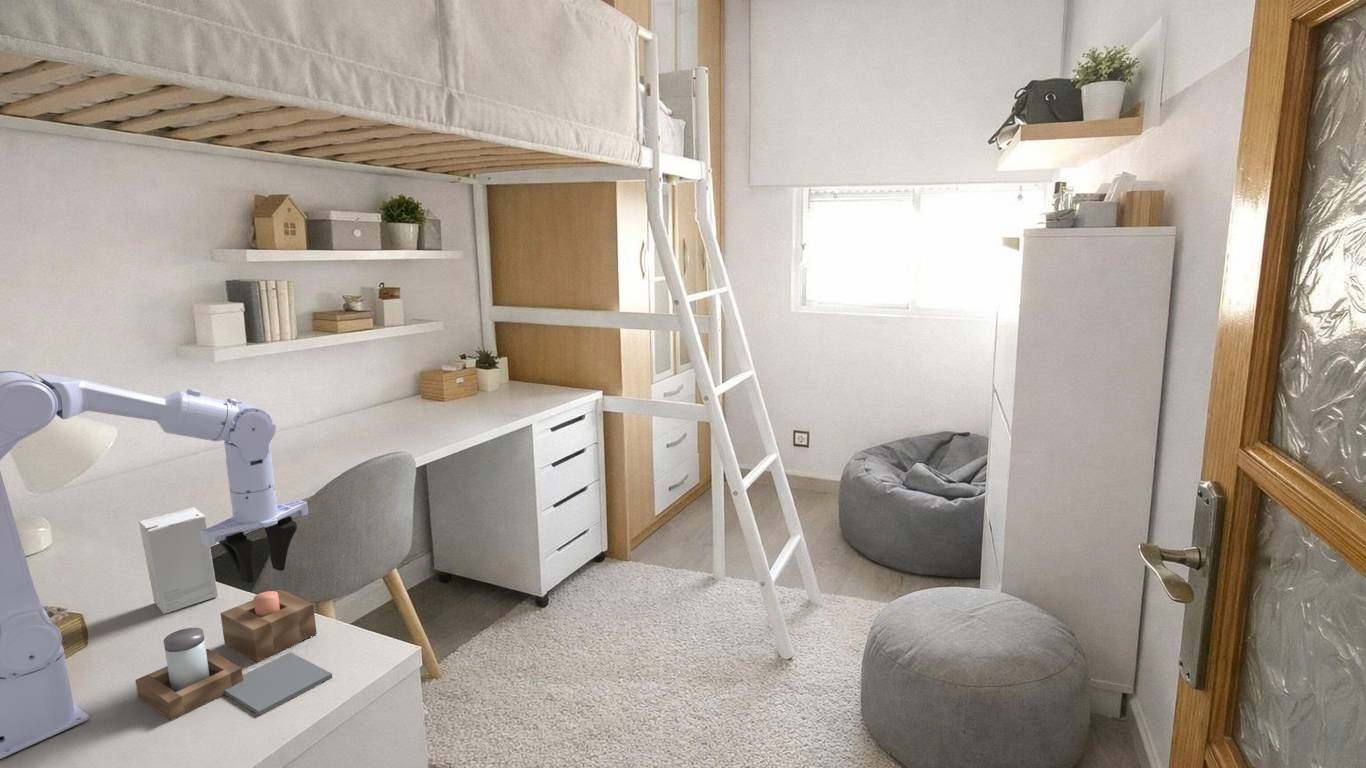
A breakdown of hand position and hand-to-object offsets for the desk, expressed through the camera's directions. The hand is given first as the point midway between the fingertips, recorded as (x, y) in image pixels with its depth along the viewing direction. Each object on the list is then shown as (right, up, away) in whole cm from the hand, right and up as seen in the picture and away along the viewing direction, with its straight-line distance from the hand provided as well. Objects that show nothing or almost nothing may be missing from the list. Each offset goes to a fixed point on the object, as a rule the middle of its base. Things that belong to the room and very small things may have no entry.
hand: (263, 574), depth 113 cm
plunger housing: (0, -10, +2) cm, 10 cm away
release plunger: (0, -8, +2) cm, 8 cm away
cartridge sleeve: (-4, -13, -11) cm, 17 cm away
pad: (+7, -12, -9) cm, 17 cm away
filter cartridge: (-4, -13, -11) cm, 17 cm away
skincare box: (-21, -8, +14) cm, 26 cm away
